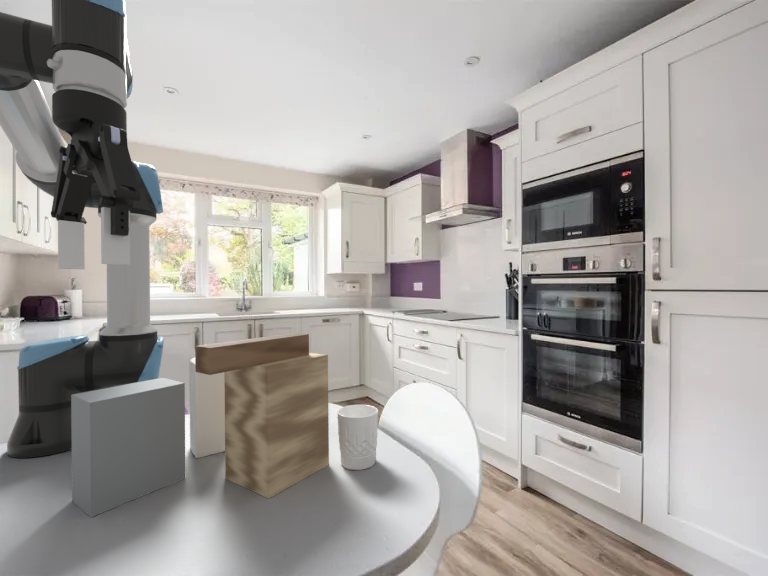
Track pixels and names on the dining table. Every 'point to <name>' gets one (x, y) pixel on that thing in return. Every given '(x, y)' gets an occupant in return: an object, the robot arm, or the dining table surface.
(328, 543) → the dining table surface
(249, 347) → the bar
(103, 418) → the grey block
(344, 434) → the white cup
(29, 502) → the dining table surface
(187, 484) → the dining table surface
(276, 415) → the oak block
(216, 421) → the milk
